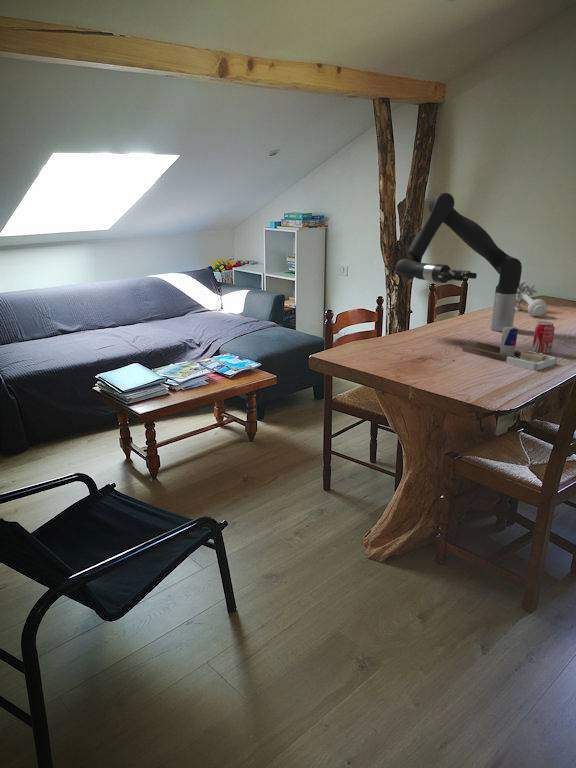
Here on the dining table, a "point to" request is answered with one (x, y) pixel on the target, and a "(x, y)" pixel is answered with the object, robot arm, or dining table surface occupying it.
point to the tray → (531, 365)
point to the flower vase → (530, 300)
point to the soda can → (543, 337)
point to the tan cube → (526, 356)
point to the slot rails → (488, 353)
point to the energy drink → (508, 341)
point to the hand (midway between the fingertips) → (469, 277)
